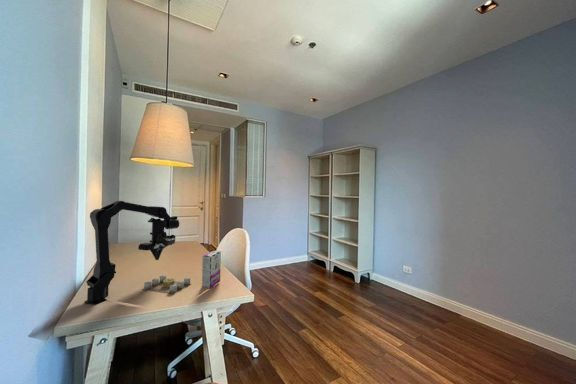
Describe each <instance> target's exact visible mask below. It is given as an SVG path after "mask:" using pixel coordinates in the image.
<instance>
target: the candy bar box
mask: <svg viewBox="0 0 576 384" xmlns="http://www.w3.org/2000/svg"><path fill="white" fill-rule="evenodd" d="M221 255H222V251H221V250H220V251H219V250H212V251H210V252H207V253H206V254H204V255H202V263H201V265H202V267H201V268H202V269H201V271H202V274H201V275H202V276H201V279H202V280H201V281H202V282H201V287H203V288H208V289H212V288H213V287H214V286H216V285H217V284H218V283H219V282H220V281H221V262H222V261H221Z"/></svg>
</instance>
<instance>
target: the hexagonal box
mask: <svg viewBox="0 0 576 384" xmlns="http://www.w3.org/2000/svg"><path fill="white" fill-rule="evenodd" d="M175 281H176V278H173V277H169V278H166V279H164V281H163V288H170V285H174V284H175Z"/></svg>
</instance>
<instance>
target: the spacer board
mask: <svg viewBox="0 0 576 384" xmlns="http://www.w3.org/2000/svg"><path fill="white" fill-rule="evenodd" d="M164 279H167V275H165V274H163V275H160V276H159V277H158V278H155V277H154V278H152V279H151V281H150V280H149V281H145V282H144V285H143V287H144V288H142V289H141V290H143V291H149V292H154V293H155V292H156V293H161V294H162V293H163V294H168V295H176V294H177V293H179V292H181V291H182V290H185V289H186V288H188V287H189V286H191V285H192V283H191V277H184V278H183V280H179V281H176V280H175V284H174V285H170V288H163V281H164Z"/></svg>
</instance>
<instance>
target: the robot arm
mask: <svg viewBox="0 0 576 384" xmlns="http://www.w3.org/2000/svg"><path fill="white" fill-rule="evenodd" d="M121 211H130V212H136V213H140V214H141V213H142V214H145V215H147V216H151V217H150V219H148V220H147V223H151V231H150V232H149V235H150V236H151V239H150V240H149V242H143V243H140V244H138V248H137V249H138V250H140V251H150V252H151V253H152V256H153V257H154V260H155V261H159V260H160V257H161V256H162V252H163V250H164V249H165V248H167V247H168V246H172V245H174V244H175V242H176V235H175V234H170V235H167V231H165V230H173V229H178V228H179V227H180V220H179V218H178V216H175V215H173V216H170V215H169V214H168V212H167V211H168V210H167V209H166V207H164V206H157V205H156V206H155V205H154V206H152V205H148V206H147V205H143V204H137V203H132V202H127V201H125V200H115V201H114V202H112V203H110V204H107V205H105V206H103V207H101V208H97V209H93V210H92V211H91V212H90V213H89V219H90V222H91V226H92V227H93V229H94V236H95V237H94V239H95V255H96V257H95V258H96V263H95V265H94V268H93V274H92V275H91V276H90V277H89V278H88V279H87V280H86V285H87V286H88V288H87V295H86V297H87V300H84V304H88V305H89V304H90V305H99V304H101V303H102V302H105V301H107V300H108V299H107V298H108V297H109V286H110V284H111V281H113V279H114V278H115V274H117V271H116V264H115V263H113V262H111V260H110V245H109V227H110V225H111V222H112V217H114V216H116V215H118V213H120V212H121Z"/></svg>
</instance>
